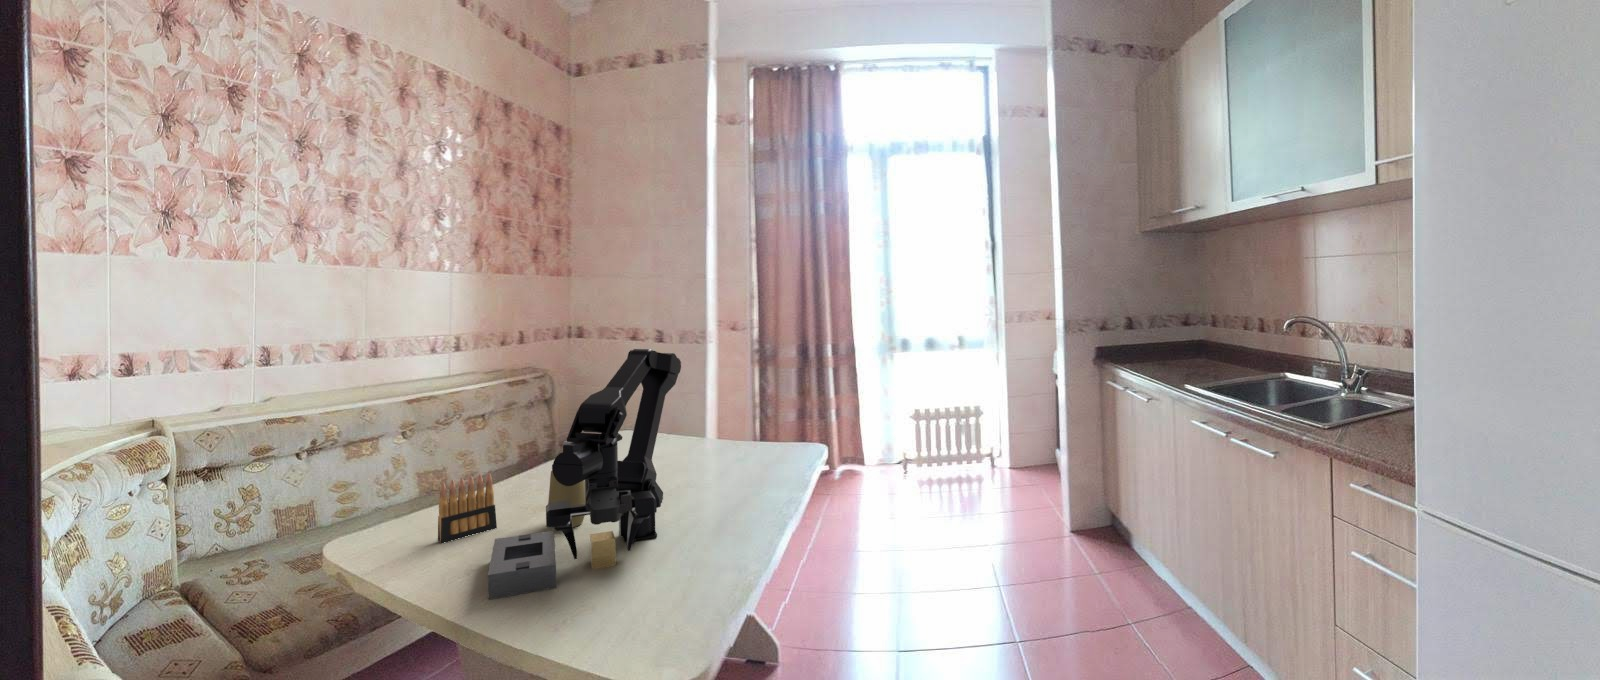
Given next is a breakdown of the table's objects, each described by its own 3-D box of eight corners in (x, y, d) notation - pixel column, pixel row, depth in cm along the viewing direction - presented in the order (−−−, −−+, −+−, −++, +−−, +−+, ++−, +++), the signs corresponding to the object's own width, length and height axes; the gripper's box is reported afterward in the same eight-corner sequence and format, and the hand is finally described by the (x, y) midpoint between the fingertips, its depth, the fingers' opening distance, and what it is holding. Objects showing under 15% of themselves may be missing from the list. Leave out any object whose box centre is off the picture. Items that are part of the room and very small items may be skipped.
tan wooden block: (613, 557, 111) (612, 530, 110) (615, 565, 107) (615, 538, 107) (590, 560, 109) (589, 534, 109) (592, 569, 105) (591, 542, 105)
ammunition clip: (441, 544, 116) (439, 483, 116) (437, 541, 118) (435, 482, 117) (497, 528, 125) (495, 472, 124) (493, 526, 126) (491, 470, 125)
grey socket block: (554, 551, 113) (553, 529, 113) (556, 587, 98) (555, 563, 98) (495, 560, 109) (494, 537, 109) (488, 599, 94) (487, 573, 94)
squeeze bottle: (596, 522, 128) (594, 440, 127) (563, 534, 121) (561, 447, 120) (572, 515, 133) (570, 435, 132) (539, 526, 126) (537, 442, 125)
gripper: (545, 488, 96) (547, 582, 97) (661, 475, 103) (662, 563, 104) (545, 471, 106) (546, 556, 107) (651, 460, 114) (651, 540, 114)
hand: (602, 554), depth 108 cm, fingers open, 9 cm apart
